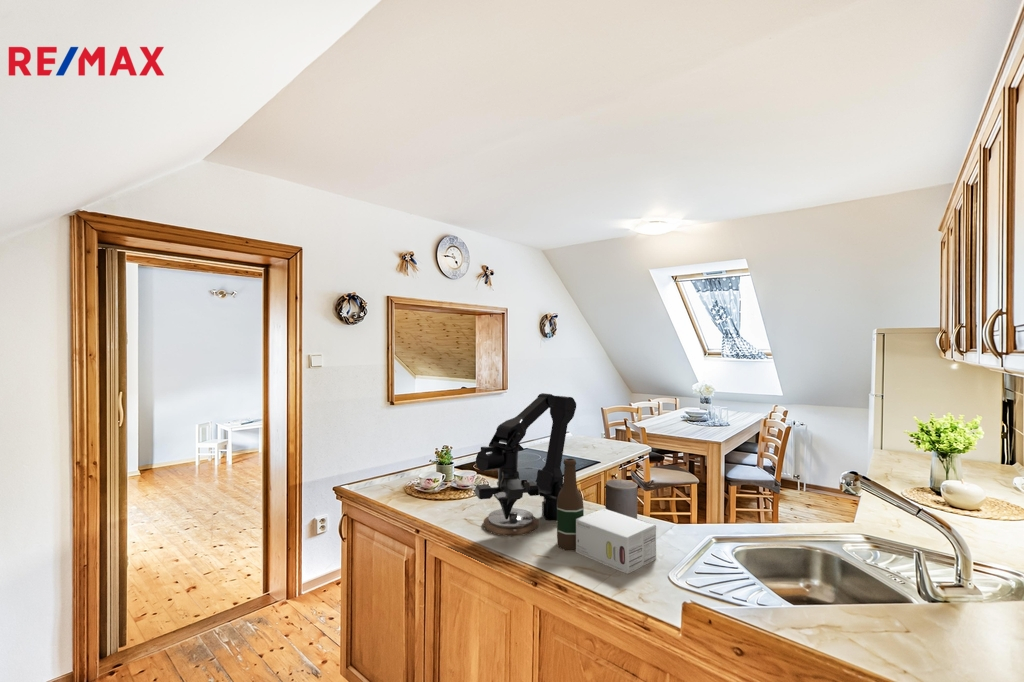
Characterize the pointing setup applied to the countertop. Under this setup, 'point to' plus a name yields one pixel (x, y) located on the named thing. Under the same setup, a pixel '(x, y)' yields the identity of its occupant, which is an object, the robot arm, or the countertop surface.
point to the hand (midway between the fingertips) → (506, 518)
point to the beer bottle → (568, 508)
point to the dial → (511, 518)
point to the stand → (511, 532)
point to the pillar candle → (621, 497)
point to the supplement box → (616, 540)
